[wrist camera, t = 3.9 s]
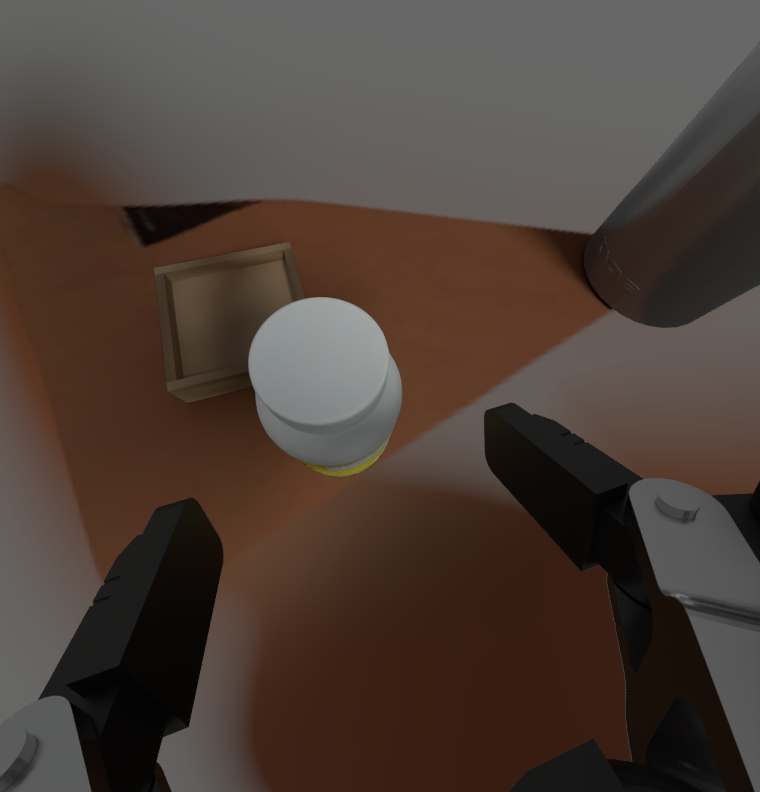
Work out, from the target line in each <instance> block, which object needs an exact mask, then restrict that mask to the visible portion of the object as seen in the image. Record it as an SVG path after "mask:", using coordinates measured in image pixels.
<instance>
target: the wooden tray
mask: <svg viewBox="0 0 760 792" xmlns="http://www.w3.org/2000/svg"><path fill="white" fill-rule="evenodd" d="M154 273H155V282H156V292H157V301H158V310H159V319H160V329H161V338H162V347H163V356H164V366H165V375H166V384H167V392H169V393H171V394H172V395H174V396H176V397H178V398H179V399H181V400H183V401H185V402H186V403H190V402H194V401H198V400H202V399H206V398H210V397H214V396H218V395H222V394H226V393H230V392H234V391H238V390H241V389H245V388H249V387H253V385H252V383H251V379H250V375H249V367H248V359H249V352H250V348H251V344H252V341H253V339H254V337H255V335H256V333H257V331H258V330H259V328H260V327H261V325H262V324H263V323H264V322H265V321H266V320H267V319H268V318H269V317H270V316H271V315H272V314H274V313H275V312H276V311H278V310H279V309H281V308H282V307H284V306H286V305H288V304H290V303H293V302H296V301H299V300H302V299H305V296H304V292H303V288H302V285H301V281H300V277H299V274H298V270H297V267H296V263H295V259H294V256H293V252H292V248H291V245H290V242H287V243H282V244H276V245H271V246H266V247H261V248H256V249H250V250H245V251H240V252H235V253H229V254H224V255H219V256H214V257H209V258H203V259H198V260H193V261H188V262H183V263H177V264H172V265H167V266H162V267H157V268H154Z"/></svg>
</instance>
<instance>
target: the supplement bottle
mask: <svg viewBox="0 0 760 792" xmlns="http://www.w3.org/2000/svg"><path fill="white" fill-rule="evenodd" d="M248 367H249V375H250V379H251V383H252V385H253V388H254V390H255V396H256V407H257V412H258V415H259V418H260V421H261V423H262V425H263V427H264V429H265V431H266V432H267V434H268V435H269V437H270V438H271V439H272V440H273V441H274V442H275V443H276V444H277V445H278V446H279V447H280V448H281V449H282V450H283V451H285V452H286V453H287V454H289V455H290V456H292V457H294V458H295V459H297V460H299V461H300V462H302V463H303V464H305V465H307V466H308V467H310V468H311V469H313V470H315V471H317V472H319V473H322V474H324V475H328V476H334V477H344V476H351V475H355V474H358V473H360V472H362V471H364V470H365V469H367V468H369V467H370V466H371V465H372V464H374V463H375V462H376V461H377V460H378V459H379V457H380V456H381V454H382V453H383V451H384V449H385V447H386V445H387V443H388V440H389V438H390V435H391V433H392V431H393V428H394V425H395V423H396V420H397V418H398V415H399V412H400V407H401V402H402V384H401V378H400V374H399V371H398V368H397V366H396V364H395V361H394V360H393V358H392V356H391V355H390V353H389V351H388V346H387V343H386V340H385V337H384V335H383V333H382V331H381V329H380V327H379V326H378V325H377V323H376V322H375V321H374V320H373V319H372V318H371V317H370V316H369V315H368V314H367V313H366V312H364V311H363V310H361V309H360V308H358V307H357V306H355V305H353V304H351V303H348V302H346V301H342V300H339V299H335V298H326V297H316V298H307V299H302V300H299V301H296V302H293V303H290V304H288V305H286V306H284V307H282V308H281V309H279V310H278V311H276V312H275V313H274V314H272V315H271V316H270V317H269V318H268V319H267V320H266V321H265V322H264V323H263V324H262V325H261V327H260V328H259V330H258V331H257V333H256V335H255V337H254V339H253V341H252V344H251V348H250V352H249V359H248Z"/></svg>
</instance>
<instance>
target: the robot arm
mask: <svg viewBox="0 0 760 792" xmlns="http://www.w3.org/2000/svg"><path fill="white" fill-rule="evenodd" d="M584 267H585V271H586V275H587V277H588V279H589V281H590V283H591V285H592V287H593V288H594V289H595V291H596V292H597V294H598V295H599V296H600V297H601V298H602V299H603V300H604V301H605V302H606V303H607V304H608V305H609V306H610V307H612V308H613V309H614V310H616V311H617V312H619V313H620V314H622V315H623V316H625V317H627V318H630V319H632V320H633V321H636V322H638V323H642V324H645V325H648V326H654V327H661V328H670V327H679V326H683V325H686V324H689V323H691V322H693V321H695V320H697V319H698V318H700V317H702V316H704V315H706V314H707V313H709V312H711V311H713V310H715V309H717V308H718V307H720V306H722V305H724V304H725V303H727V302H729V301H731V300H733V299H735V298H736V297H738V296H740V295H742V294H744V293H746V292H748V291H749V290H751V289H753V288H755V287H757V286H759V285H760V42H759V43H758V44H757V45H756V47H755V48H754V49H753V50H752V51H751V52H750V53H749V55H748V56H747V57H746V58H745V59H744V60H743V62H742V63H741V64H740V65H739V66H738V67H737V68H736V70H735V71H734V72H733V73H732V74H731V75H730V77H729V78H728V79H727V80H726V81H725V82H724V84H723V85H722V86H721V87H720V88H719V89H718V90H717V92H716V93H715V94H714V95H713V96H712V97H711V99H710V100H709V101H708V102H707V103H706V104H705V106H704V107H703V108H702V109H701V110H700V111H699V113H698V114H697V115H696V116H695V117H694V118H693V119H692V121H691V122H690V123H689V124H688V125H687V126H686V128H685V129H684V130H683V131H682V132H681V133H680V135H679V136H678V137H677V138H676V139H675V140H674V142H673V143H672V144H671V145H670V146H669V147H668V148H667V150H666V151H665V152H664V153H663V154H662V156H661V157H660V158H659V159H658V160H657V161H656V162H655V164H654V165H653V166H652V167H651V168H650V169H649V171H648V172H647V173H646V174H645V175H644V176H643V177H642V179H641V180H640V181H639V182H638V183H637V185H636V186H635V187H634V188H633V189H632V190H631V191H630V192H629V194H628V195H627V196H626V197H625V198H624V199H623V201H622V202H621V203H620V204H619V205H618V206H617V207H616V209H615V210H614V211H613V212H612V214H610V216H609V217H608V218H607V219H606V221H604V223H603V224H602V225H601V226H600V227H599V229H598V230H597V231H596V232H595V233H594V234H593V235H592V237H591V238H590V240H589V241H588V243H587V244H586V248H585V251H584ZM484 435H485V457H486V460H487V463H488V466H489V468H490V469H491V471H492V472H493V474H494V475H495V476H496V477H497V478H498V479H499V480H500V481H501V483H502V484H503V485H504V486H505V487H506V488H507V489H508V490H509V492H510V493H511V494H512V495H513V496H514V497H515V498H516V499H517V500H518V502H519V503H520V504H521V505H522V506H523V507H524V508H525V509H526V510H527V512H528V513H529V514H530V515H531V516H532V517H533V518H534V519H535V520H536V522H537V523H538V524H539V525H540V526H541V527H542V528H543V529H544V530H545V531H546V533H547V534H548V535H549V536H550V537H551V538H552V539H553V540H554V542H555V543H556V544H557V545H558V546H559V547H560V548H561V549H562V551H563V552H564V553H565V554H566V555H567V556H568V557H569V558H570V559H571V561H572V562H573V563H574V564H575V565H576V566H577V567H578V568H579V569H580V571H583V570H586V569H588V568H591V567H594V566H596V565H598V564H599V565H600V566H601V567H602V568H603V569H604V570H605V571H606V572H607V573H608V575H607V587H608V592H609V597H610V602H611V607H612V613H613V617H614V623H615V628H616V633H617V638H618V643H619V649H620V654H621V659H622V664H623V669H624V675H625V683H626V699H625V715H626V726H627V734H628V740H629V746H630V752H631V758H632V762H631V761H624V760H617V759H606V758H605V756H604V755H603V753H602V751H601V750H600V748H599V746H598V745H597V743H596V742H595V740H594V739H592V740H590V741H588V742H586V743H584V744H582V745H580V746H578V747H576V748H574V749H572V750H570V751H568V752H566V753H564V754H562V755H560V756H558V757H556V758H554V759H552V760H550V761H548V762H546V763H544V764H542V765H540V766H538V767H536V768H534V769H532V770H530V771H528V772H526V773H525V774H524V776H523V777H522V778H521V779H520V780H519V782H518V783H517V784H516V785H515V786H514V787H513V789H512V790H511V791H510V792H760V481H759V483H758V485H757V487H756V489H755V491H754V493H753V494H733V495H713V496H710V495H708V494H707V493H705V492H704V491H702V490H700V489H698V488H696V487H693V486H691V485H688V484H685V483H682V482H679V481H674V480H670V479H662V478H649V479H643V478H641V477H639V476H638V475H636V474H635V473H633V472H632V471H630V470H629V469H627V468H625V467H624V466H623V465H621V464H620V463H618V462H617V461H615V460H614V459H612V458H611V457H609V456H608V455H606V454H604V453H603V452H601V451H600V450H598V449H597V448H595V447H594V446H592V445H591V444H589V443H588V442H587V443H585V442H584V440H583V439H582V438H580V437H578V436H577V435H576V434H571V432H570V431H569V430H568V429H566V428H565V427H563V426H562V425H560V424H559V423H557V422H556V421H554V420H551V419H548V418H545V417H542V416H539V415H536V414H533V415H531V414H529V413H528V412H526V411H525V410H524V409H522V408H521V407H519V406H518V405H516V404H514V403H509V404H505V405H502V406H499V407H496V408H492V409H489V410H487V411H486V412H485V415H484ZM222 565H223V546H222V543H221V540H220V537H219V536H218V534H217V532H216V531H215V529H214V527H213V526H212V524H211V522H210V521H209V519H208V517H207V516H206V514H205V512H204V511H203V509H202V507H201V506H200V504H199V503H198V501H197V500H196V499H194V498H188V499H185V500H182V501H178V502H175V503H172V504H168V505H165V506H161V507H158V508H157V509H156V510H155V511H154V513H153V514H152V516H151V518H150V520H149V522H148V524H147V526H146V528H145V530H144V532H143V534H142V535H138V536H136V537H135V539H134V540H133V541H132V542H131V543H130V544H129V545H128V546H127V547H126V548H125V550H124V551H123V552H122V553H121V554H120V555H119V556H118V557H117V559H116V560H115V562H114V564H113V566H112V568H111V569H110V571H109V573H108V575H107V577H106V578H105V580H104V582H105V584H104V585H103V586H101V587H100V589H99V591H98V593H97V595H96V597H95V598H94V600H93V606H91V607H89V609H88V611H87V613H86V615H85V616H84V618H83V620H82V622H81V624H80V625H79V627H78V629H77V631H76V633H75V635H74V636H73V638H72V640H71V642H70V644H69V645H68V647H67V649H66V651H65V653H64V654H63V656H62V658H61V660H60V662H59V663H58V665H57V667H56V669H55V671H54V672H53V674H52V676H51V678H50V680H49V681H48V683H47V685H46V687H45V689H44V691H43V692H42V694H41V696H40V697H39V699H38V700H37V701H35V702H33V703H31V704H30V705H28V706H26V707H24V708H23V709H21V710H20V711H18V712H16V713H15V714H14V715H12V716H11V717H10V718H8V719H7V720H6V721H4V722H3V723H2V724H1V725H0V792H172V791H171V789H170V786H169V784H168V781H167V779H166V776H165V774H164V771H163V769H162V767H161V766H160V764H159V763H158V762H157V757H158V753H159V749H160V745H161V741H162V738H163V737H165V736H167V735H170V734H172V733H175V732H177V731H180V730H182V729H185V728H187V727H189V723H190V718H191V713H192V708H193V704H194V699H195V694H196V689H197V685H198V680H199V675H200V670H201V666H202V661H203V656H204V651H205V647H206V642H207V636H208V632H209V627H210V623H211V618H212V612H213V608H214V603H215V598H216V594H217V589H218V584H219V579H220V575H221V570H222Z"/></svg>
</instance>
